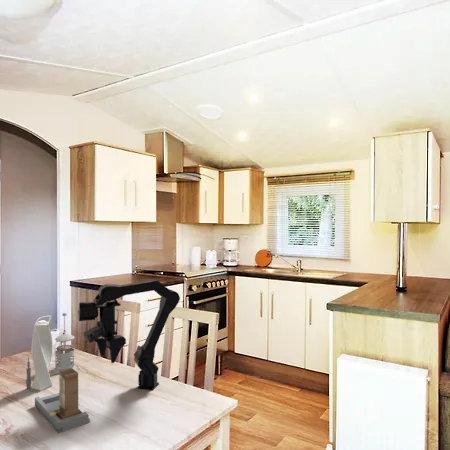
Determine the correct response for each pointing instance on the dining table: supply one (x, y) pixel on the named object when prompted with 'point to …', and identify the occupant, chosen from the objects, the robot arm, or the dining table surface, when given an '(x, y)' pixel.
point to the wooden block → (68, 394)
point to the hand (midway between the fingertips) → (107, 359)
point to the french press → (64, 358)
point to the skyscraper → (40, 356)
